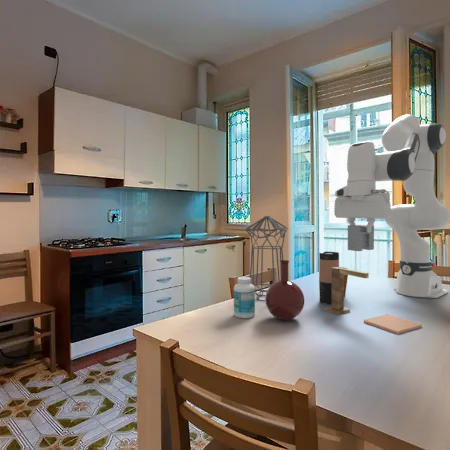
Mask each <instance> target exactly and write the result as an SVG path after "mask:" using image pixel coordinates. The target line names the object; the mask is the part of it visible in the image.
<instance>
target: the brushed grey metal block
mask: <svg viewBox="0 0 450 450" xmlns="http://www.w3.org/2000/svg"><path fill="white" fill-rule="evenodd" d="M366 226H367V224H355V225H350V224H348V225H347V251H351V252H352V251H353V252H363V250H366V251H372V250H374V249H375V225H374V224H373V226H372V230H371V232H364V227H366Z"/></svg>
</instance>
